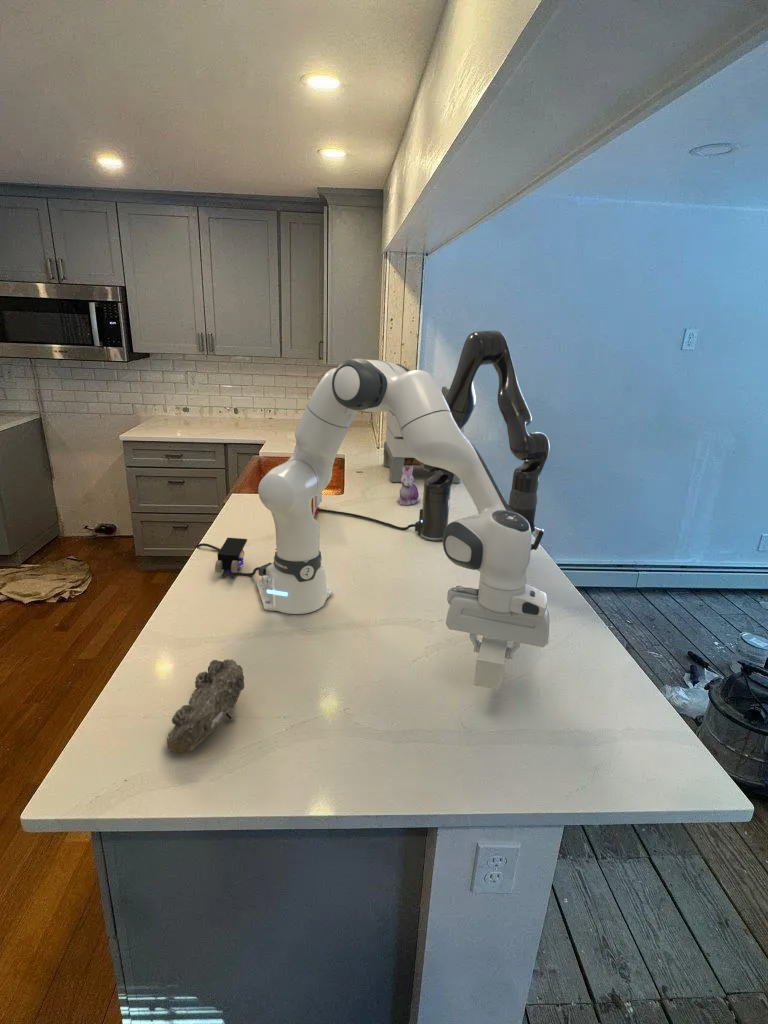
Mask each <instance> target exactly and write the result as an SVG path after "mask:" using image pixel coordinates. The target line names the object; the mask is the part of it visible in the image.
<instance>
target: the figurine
mask: <svg viewBox="0 0 768 1024" xmlns="http://www.w3.org/2000/svg"><path fill="white" fill-rule="evenodd" d="M402 471H403V475H402V478H401V482H400V484H401V487H400V489H399V497H398V502H399V504H400V505H404V506H410V505H414V504H416V503H418V500H419V496H420V495H419V494H420V493H419V490H418V487H417V486H416V484H415V478H414V476H413V471H414V466H410V467H408V469H407V468H406V467H405V466H404V467H402Z"/></svg>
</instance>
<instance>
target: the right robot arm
mask: <svg viewBox="0 0 768 1024" xmlns="http://www.w3.org/2000/svg"><path fill="white" fill-rule="evenodd" d="M486 365H492V366H493V368H494V370H495V372H496V374H497V377H498V387H497V389H498V390H497V406H498V409H499V412H500V413H501V416H502V419H503V421H504V422H505V425H506V430H507V431H506V432H507V438H508V444H509V449H510V452H511V453H512V455H513V456H514V458H516V459H517V460H518V461H523V463H522V464H520V465H519V466H517V467H516V468H515V469H514V470H513V475H512V482H511V483H512V484H511V489H510V492H509V496H508V497H509V498H508V505H509V507H510V508H511V509H512V510H513V511H514V512H515V513H518V514H520V515H521V516H523V517H524V518H525V519H526V520H527V521H528V522H529V525H530V528H531V534H533V532H534V535H535V539H534V542H533V543H531V551H532V550H534V551H537V550H538V548H539V545H540V543H541V541H542V538H543V536H544V533H545V529H544V528H543V527H540V528H538V527H536V526H535V519H536V511H537V505H538V491H539V483H540V476H541V474H542V472H543V470H544V467H545V465H546V462H547V459H548V456H549V454H550V447H551V445H550V440H549V438H548V436H547V435H546V434H545V433H543V432H539V431H536V432H535V431H534V432H529V433H528V431H527V427H528V426H529V425H530V424H531V423H532V420H533V417H532V414H531V411H530V409H529V407H528V405H527V402H526V400H525V398H524V395H523V393H522V391H521V388H520V385H519V382H518V378H517V375H516V374H517V373H516V371H515V366H514V361H513V359H512V354H511V352H510V347H509V345H508V341H507V339H506V337H505V335H504V334H503V333H502V332H501V331H499V330H476V331H473V332H471V333H469V334H468V335H467V337H466V339H465V341H464V343H463V346H462V349H461V353H460V356H459V360H458V364H457V368H456V369H455V373H454V376H453V379H452V382H451V384H450V387H449V388H448V389H449V392H448V394H447V396H446V398H445V400H446V402H447V404H448V407H449V409H450V412H451V414H452V416H453V419H454V421H455V423H456V424H457V426H458V428H459V429H461V428H462V427H463V426H464V427H465V426H466V424H468V422H469V420H470V418H471V416H472V414H473V411H474V409H475V407H476V402H477V396H476V391H475V386H474V379H475V377H476V375H477V372H478V370H479V368H480V367H481V366H486ZM420 467H422V469H423V470H424V471H426V472H434V474H433V475H431V476H429V477H428V478H427V479H425V480H424V482H423V493H422V496H423V497H422V506H421V508H420V509H419V516H418V521H416V522H415V523H411V524H408V525H407V526H404V527H403V526H398V525H394V524H392V523H389V522H386V521H383V520H379V519H376V518H372V517H369V516H365V515H361V514H357V513H350V512H346V511H338V510H333V509H332V510H331V509H323V508H319V509H318V512H322V513H327V514H328V513H329V514H336V515H343V516H349V517H354V518H358V519H362V520H363V519H364V520H366V521H370V522H374V523H377V524H381V525H384V526H387V527H391V528H393V529H396V530H398V531H407V530H409V529H410V528H414V532H417V535H418V536H420V538H421V539H424V540H426V541H432V542H440V541H443V533H444V530H445V528H446V527H447V525H448V524H449V517H450V516H449V514H450V504H451V494H452V493H451V491H452V486H453V484H454V483H453V479H454V473H452V472H450V471H447V470H445V469H442V468H438V467H434V466H429V465H426V464H424V463H421V466H420Z"/></svg>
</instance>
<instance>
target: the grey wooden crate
mask: <svg viewBox="0 0 768 1024" xmlns="http://www.w3.org/2000/svg"><path fill="white" fill-rule="evenodd" d="M449 389H450V388H447V386H442V387H441V392H442V394H443V396H444V398H446V396H447V394H448V392H449ZM385 414H386V415H385V423H386V428H385V438H384V442H383V466H384V467H388V468H389V475H388V476H389V477H388V478H389V480H390V482H391V483H401V478H402V476H403V471H402V467H405V466H406V467H407V466H410V467H411V466H413V467H415V466H416V467H417V466H418V467H422V466H421V462H420V461H418V460H416V459H415V458H414V457H413V456H412V455H411V453H410V452H409V450H408V449H407V447H406V445H405V442H404V440H403V437H402V434H401V431H400V428H399V426H398V423H397V420H396V418H395V416H394V414H393V413H392V412H390V411H386V413H385ZM464 429H465V425H464V426H463V427H462V428H461V429H460V431H461V432H462V434H463V435H464V431H465V430H464ZM455 483H456V484H459V483H461V479H460V478H459V477H458V476H457V475H455V474H454V479H453V484H455Z"/></svg>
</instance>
